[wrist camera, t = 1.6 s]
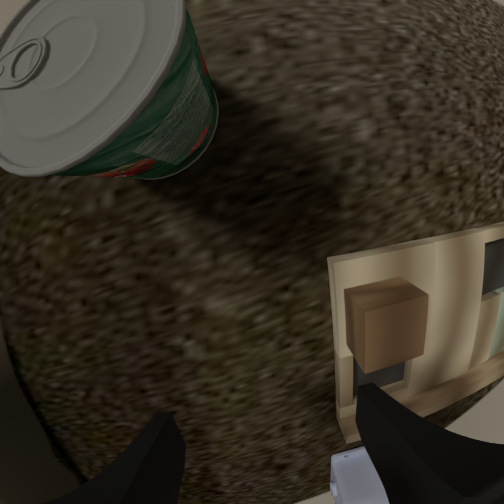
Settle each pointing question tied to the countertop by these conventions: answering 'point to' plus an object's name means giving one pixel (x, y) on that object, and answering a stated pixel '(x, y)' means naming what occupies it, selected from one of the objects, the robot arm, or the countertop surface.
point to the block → (385, 322)
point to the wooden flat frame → (429, 320)
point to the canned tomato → (103, 90)
